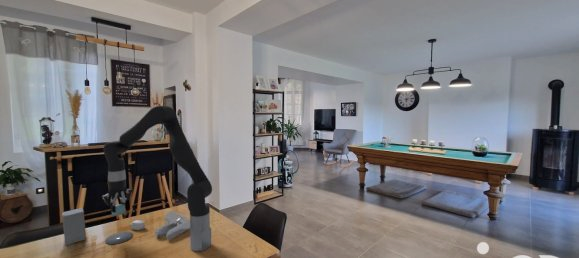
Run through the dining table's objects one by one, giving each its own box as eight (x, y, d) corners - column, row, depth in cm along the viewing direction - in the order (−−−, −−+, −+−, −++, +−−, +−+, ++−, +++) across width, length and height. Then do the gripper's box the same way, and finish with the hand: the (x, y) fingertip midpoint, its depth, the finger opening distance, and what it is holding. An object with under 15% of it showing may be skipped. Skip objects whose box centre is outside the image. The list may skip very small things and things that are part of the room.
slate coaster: (137, 236, 130) (137, 235, 130) (112, 246, 120) (112, 245, 119) (125, 230, 136) (125, 229, 136) (100, 240, 126) (100, 239, 126)
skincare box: (85, 235, 131) (83, 206, 129) (86, 240, 125) (84, 210, 124) (63, 241, 125) (62, 211, 124) (64, 246, 120) (62, 215, 118)
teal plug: (127, 212, 126) (125, 204, 126) (119, 215, 123) (118, 206, 123) (117, 212, 131) (116, 204, 131) (110, 215, 128) (108, 206, 128)
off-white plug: (146, 227, 140) (146, 221, 139) (142, 230, 136) (141, 223, 136) (133, 226, 141) (133, 219, 141) (129, 229, 138) (128, 222, 138)
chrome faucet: (175, 209, 149) (193, 218, 137) (176, 220, 150) (194, 229, 138) (145, 221, 135) (161, 232, 123) (146, 233, 136) (163, 245, 124)
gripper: (104, 183, 118) (106, 217, 119) (135, 176, 130) (136, 207, 131) (97, 181, 121) (99, 214, 123) (128, 174, 134) (129, 205, 135)
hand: (118, 210), depth 127 cm, fingers closed on teal plug, 3 cm apart
